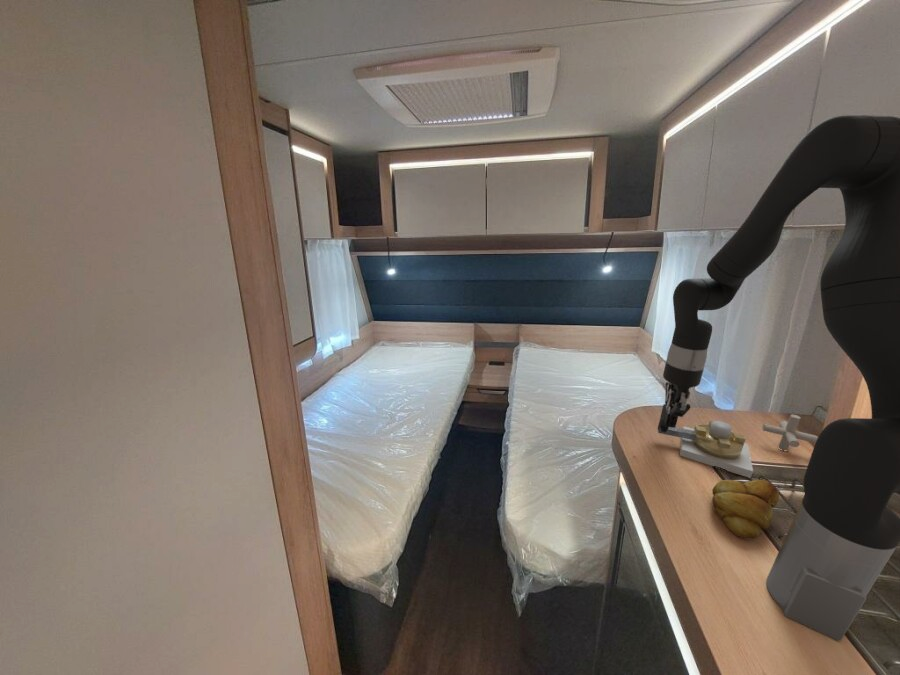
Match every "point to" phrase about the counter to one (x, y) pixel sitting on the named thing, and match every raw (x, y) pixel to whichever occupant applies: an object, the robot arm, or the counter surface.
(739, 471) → the flange plate
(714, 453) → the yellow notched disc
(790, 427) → the pipe connector
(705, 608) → the counter surface
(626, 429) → the counter surface
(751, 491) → the bread roll
